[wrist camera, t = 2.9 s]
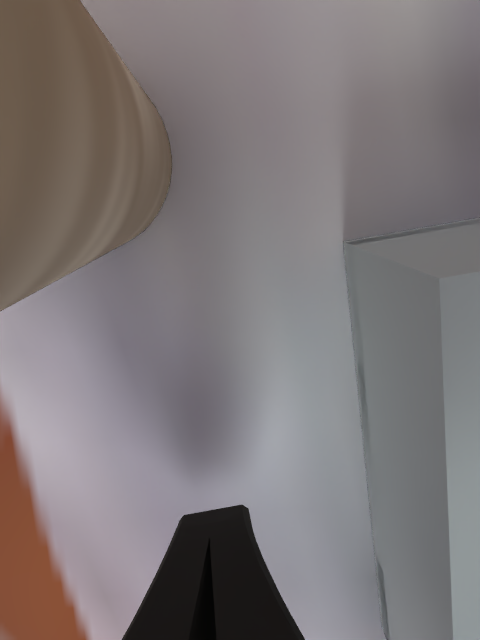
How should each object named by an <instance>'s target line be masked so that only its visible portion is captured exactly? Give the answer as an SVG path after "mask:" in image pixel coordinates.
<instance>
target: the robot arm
mask: <svg viewBox="0 0 480 640" xmlns="http://www.w3.org/2000/svg"><path fill="white" fill-rule="evenodd" d="M122 640H305V639H304V637H303V635H302V633H301V632H300V630H299V628H298V626H297V625H296V623H295V621H294V619H293V618H292V616H291V614H290V612H289V610H288V608H287V607H286V605H285V603H284V601H283V599H282V597H281V595H280V593H279V591H278V589H277V587H276V585H275V583H274V581H273V579H272V577H271V575H270V572H269V570H268V568H267V566H266V564H265V562H264V559H263V557H262V555H261V552H260V549H259V547H258V544H257V542H256V539H255V536H254V533H253V529H252V524H251V519H250V514H249V509H248V508H247V507H245V506H244V505H237V506H232V507H226V508H221V509H215V510H210V511H204V512H199V513H193V514H188V515H184V516H183V517H182V518H181V520H180V521H179V523H178V526H177V528H176V531H175V533H174V536H173V538H172V540H171V543H170V545H169V547H168V549H167V552H166V554H165V556H164V558H163V560H162V563H161V565H160V567H159V569H158V571H157V573H156V575H155V577H154V579H153V581H152V583H151V585H150V587H149V589H148V591H147V593H146V595H145V597H144V599H143V601H142V603H141V605H140V607H139V609H138V611H137V613H136V615H135V617H134V619H133V621H132V622H131V624H130V626H129V628H128V630H127V631H126V633H125V635H124V637H123V638H122Z"/></svg>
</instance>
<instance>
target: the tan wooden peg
mask: <svg viewBox="0 0 480 640" xmlns="http://www.w3.org/2000/svg"><path fill="white" fill-rule="evenodd" d="M171 171H172V156H171V149H170V143H169V139H168V135H167V131H166V129H165V126H164V124H163V121H162V119H161V117H160V115H159V113H158V111H157V110H156V108H155V106H154V105H153V103H152V102H151V100H150V99H149V98H148V96H147V95H146V93H145V92H144V91H143V89H142V88H141V86H140V85H139V84H138V82H137V81H136V79H135V78H134V76H133V75H132V74H131V72H130V71H129V69H128V68H127V67H126V65H125V64H124V62H123V61H122V59H121V58H120V57H119V55H118V54H117V52H116V51H115V50H114V48H113V47H112V45H111V44H110V43H109V41H108V40H107V38H106V37H105V35H104V34H103V33H102V31H101V30H100V28H99V27H98V26H97V24H96V23H95V21H94V20H93V18H92V17H91V16H90V14H89V13H88V11H87V10H86V9H85V7H84V6H83V4H82V3H81V1H80V0H0V311H2V310H4V309H6V308H7V307H9V306H11V305H13V304H15V303H17V302H18V301H20V300H22V299H24V298H26V297H28V296H29V295H31V294H33V293H35V292H37V291H39V290H40V289H42V288H44V287H46V286H48V285H50V284H51V283H53V282H55V281H57V280H59V279H61V278H62V277H64V276H66V275H68V274H70V273H72V272H73V271H75V270H77V269H79V268H81V267H83V266H84V265H86V264H88V263H90V262H92V261H93V260H95V259H97V258H99V257H101V256H103V255H104V254H106V253H108V252H110V251H112V250H114V249H115V248H117V247H119V246H121V245H123V244H125V243H126V242H128V241H130V240H132V239H133V238H135V237H136V236H137V235H139V234H140V233H141V232H143V231H144V230H145V229H146V228H147V227H148V226H149V225H150V224H151V222H152V221H153V220H154V218H155V217H156V216H157V214H158V213H159V211H160V209H161V207H162V205H163V203H164V201H165V198H166V196H167V193H168V189H169V185H170V180H171Z"/></svg>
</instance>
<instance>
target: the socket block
mask: <svg viewBox="0 0 480 640" xmlns="http://www.w3.org/2000/svg"><path fill="white" fill-rule="evenodd" d="M343 248H344V258H345V268H346V278H347V288H348V298H349V308H350V317H351V327H352V337H353V347H354V357H355V367H356V377H357V387H358V397H359V407H360V417H361V427H362V437H363V446H364V456H365V466H366V476H367V486H368V496H369V506H370V516H371V526H372V536H373V546H374V556H375V566H376V575H377V585H378V595H379V605H380V615H381V625H382V629H383V631H384V634H385V636H386V639H387V640H480V217H479V218H473V219H468V220H462V221H456V222H451V223H445V224H439V225H434V226H428V227H422V228H417V229H411V230H405V231H400V232H394V233H389V234H383V235H377V236H372V237H366V238H360V239H355V240H349V241H343Z"/></svg>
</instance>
